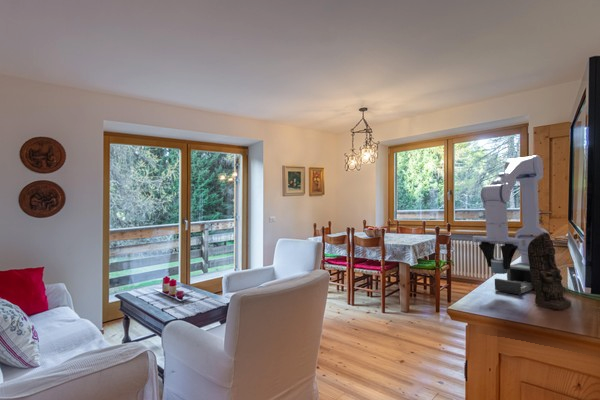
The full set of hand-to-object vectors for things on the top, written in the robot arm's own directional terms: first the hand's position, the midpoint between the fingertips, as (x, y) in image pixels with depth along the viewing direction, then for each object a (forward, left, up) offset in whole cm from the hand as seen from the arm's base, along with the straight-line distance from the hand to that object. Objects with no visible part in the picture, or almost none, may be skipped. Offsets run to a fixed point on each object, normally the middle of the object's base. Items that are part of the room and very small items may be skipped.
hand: (498, 267), depth 97 cm
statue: (0, +13, -9) cm, 15 cm away
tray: (-9, 0, -8) cm, 12 cm away
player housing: (-17, 0, -8) cm, 19 cm away
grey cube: (0, 0, -1) cm, 1 cm away
